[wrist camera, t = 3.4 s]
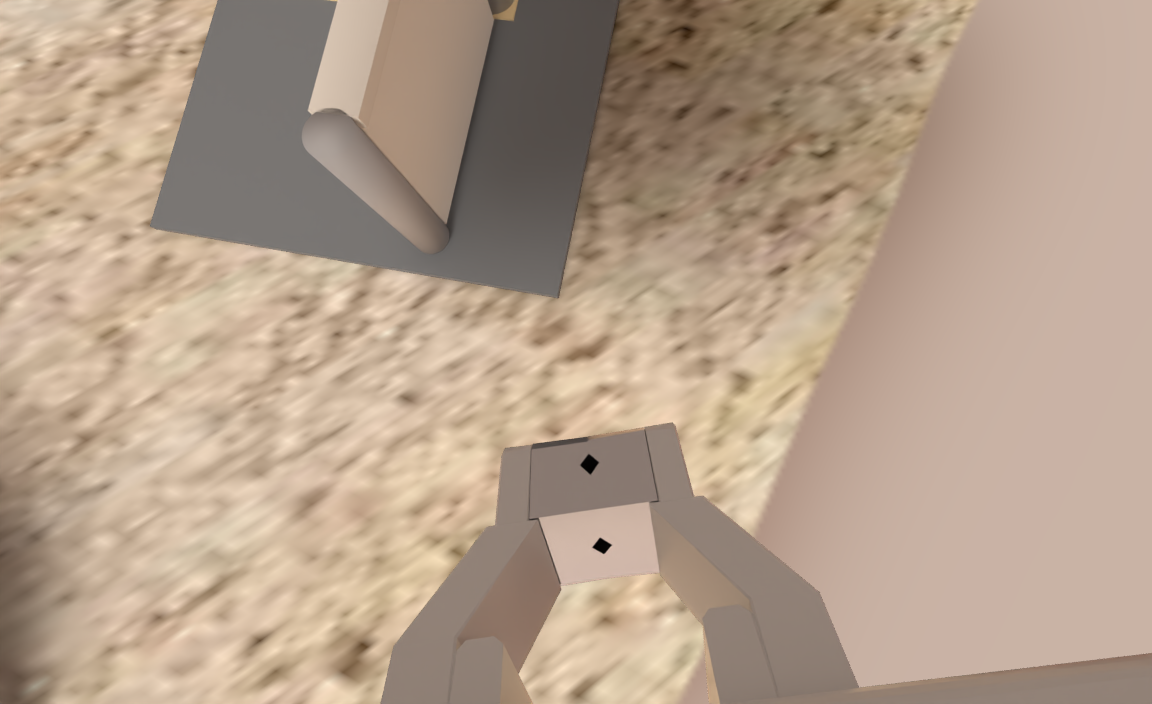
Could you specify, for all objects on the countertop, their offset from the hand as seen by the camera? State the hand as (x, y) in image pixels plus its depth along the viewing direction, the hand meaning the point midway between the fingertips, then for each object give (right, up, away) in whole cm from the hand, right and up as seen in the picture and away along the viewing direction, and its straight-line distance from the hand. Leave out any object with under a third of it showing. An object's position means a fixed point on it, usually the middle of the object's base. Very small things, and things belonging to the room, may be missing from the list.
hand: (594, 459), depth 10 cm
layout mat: (-8, +18, +18) cm, 27 cm away
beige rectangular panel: (-6, +12, +16) cm, 20 cm away
